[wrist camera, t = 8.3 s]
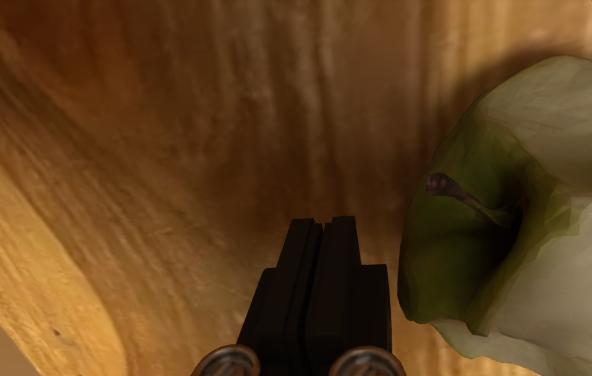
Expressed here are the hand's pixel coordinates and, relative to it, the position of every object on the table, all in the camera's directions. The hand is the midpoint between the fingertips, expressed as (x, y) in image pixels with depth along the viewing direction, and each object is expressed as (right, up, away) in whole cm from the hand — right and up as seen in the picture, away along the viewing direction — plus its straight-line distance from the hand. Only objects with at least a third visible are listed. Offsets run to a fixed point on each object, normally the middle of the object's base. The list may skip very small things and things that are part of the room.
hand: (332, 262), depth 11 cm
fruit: (+7, +2, +1) cm, 7 cm away
